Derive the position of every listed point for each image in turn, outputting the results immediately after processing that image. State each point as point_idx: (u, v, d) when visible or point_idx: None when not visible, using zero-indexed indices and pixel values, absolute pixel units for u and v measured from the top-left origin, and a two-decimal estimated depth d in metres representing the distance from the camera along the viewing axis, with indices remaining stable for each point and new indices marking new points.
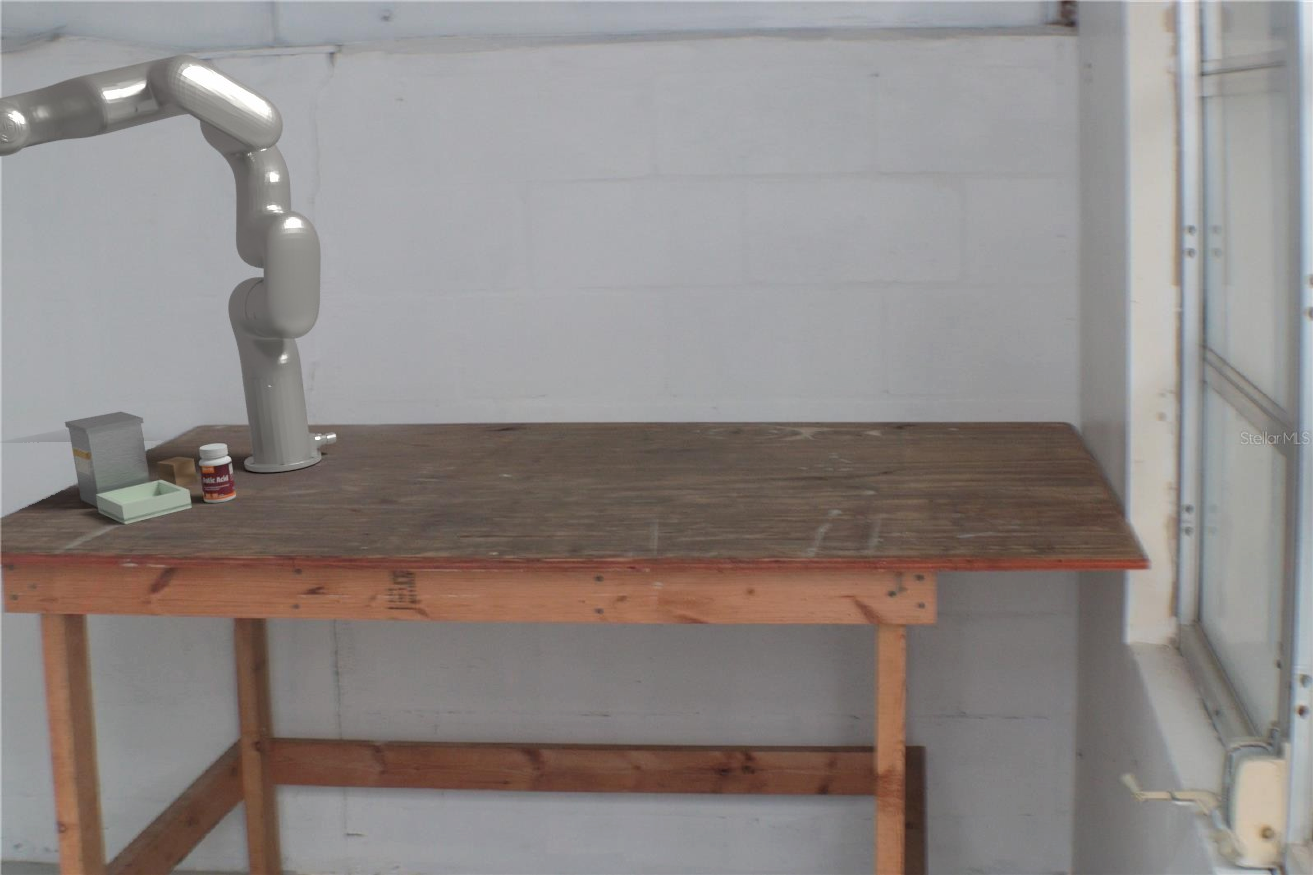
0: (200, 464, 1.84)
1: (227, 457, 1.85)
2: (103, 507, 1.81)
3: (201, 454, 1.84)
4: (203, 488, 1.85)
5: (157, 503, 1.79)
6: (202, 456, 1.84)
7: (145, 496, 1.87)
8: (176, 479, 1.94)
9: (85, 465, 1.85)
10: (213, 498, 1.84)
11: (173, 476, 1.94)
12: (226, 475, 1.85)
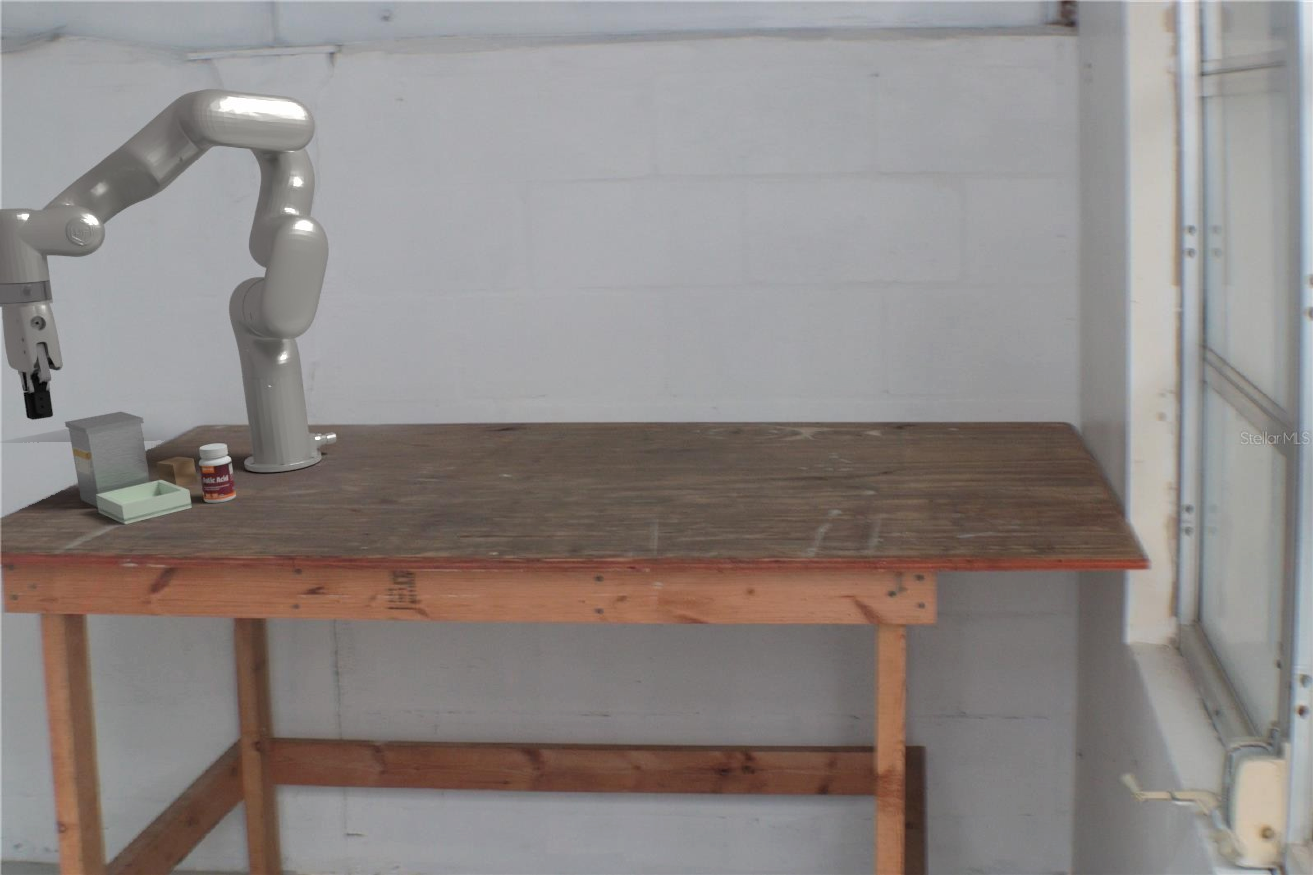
0: (200, 464, 1.84)
1: (227, 457, 1.85)
2: (103, 507, 1.81)
3: (201, 454, 1.84)
4: (203, 488, 1.85)
5: (157, 503, 1.79)
6: (202, 456, 1.84)
7: (145, 496, 1.87)
8: (176, 479, 1.94)
9: (85, 465, 1.85)
10: (213, 498, 1.84)
11: (173, 476, 1.94)
12: (226, 475, 1.85)
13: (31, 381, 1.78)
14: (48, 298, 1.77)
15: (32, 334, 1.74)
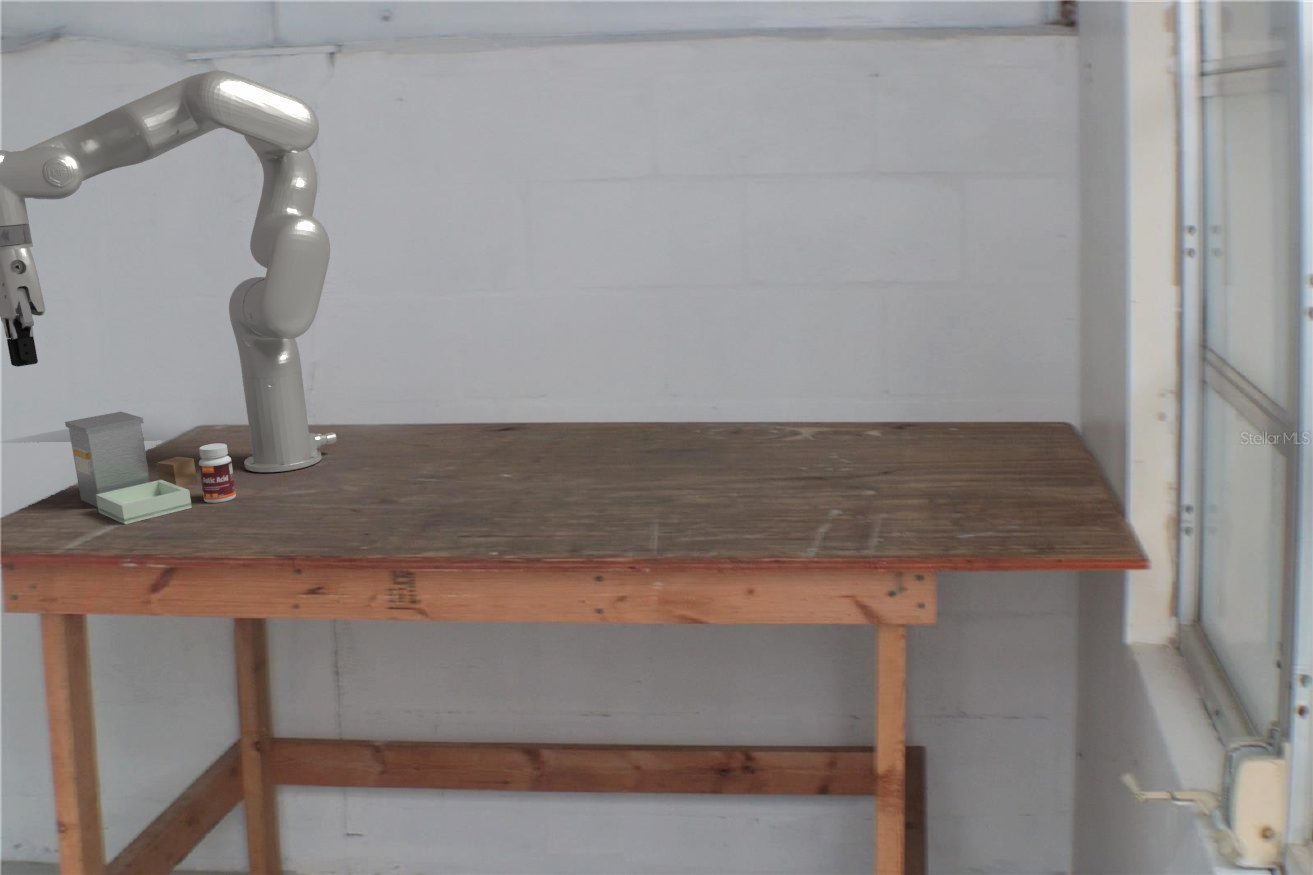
0: (200, 464, 1.84)
1: (227, 457, 1.85)
2: (103, 507, 1.81)
3: (201, 454, 1.84)
4: (203, 488, 1.85)
5: (157, 503, 1.79)
6: (202, 456, 1.84)
7: (145, 496, 1.87)
8: (176, 479, 1.94)
9: (85, 465, 1.85)
10: (213, 498, 1.84)
11: (173, 476, 1.94)
12: (226, 475, 1.85)
13: (14, 327, 1.75)
14: (28, 242, 1.74)
15: (12, 278, 1.71)
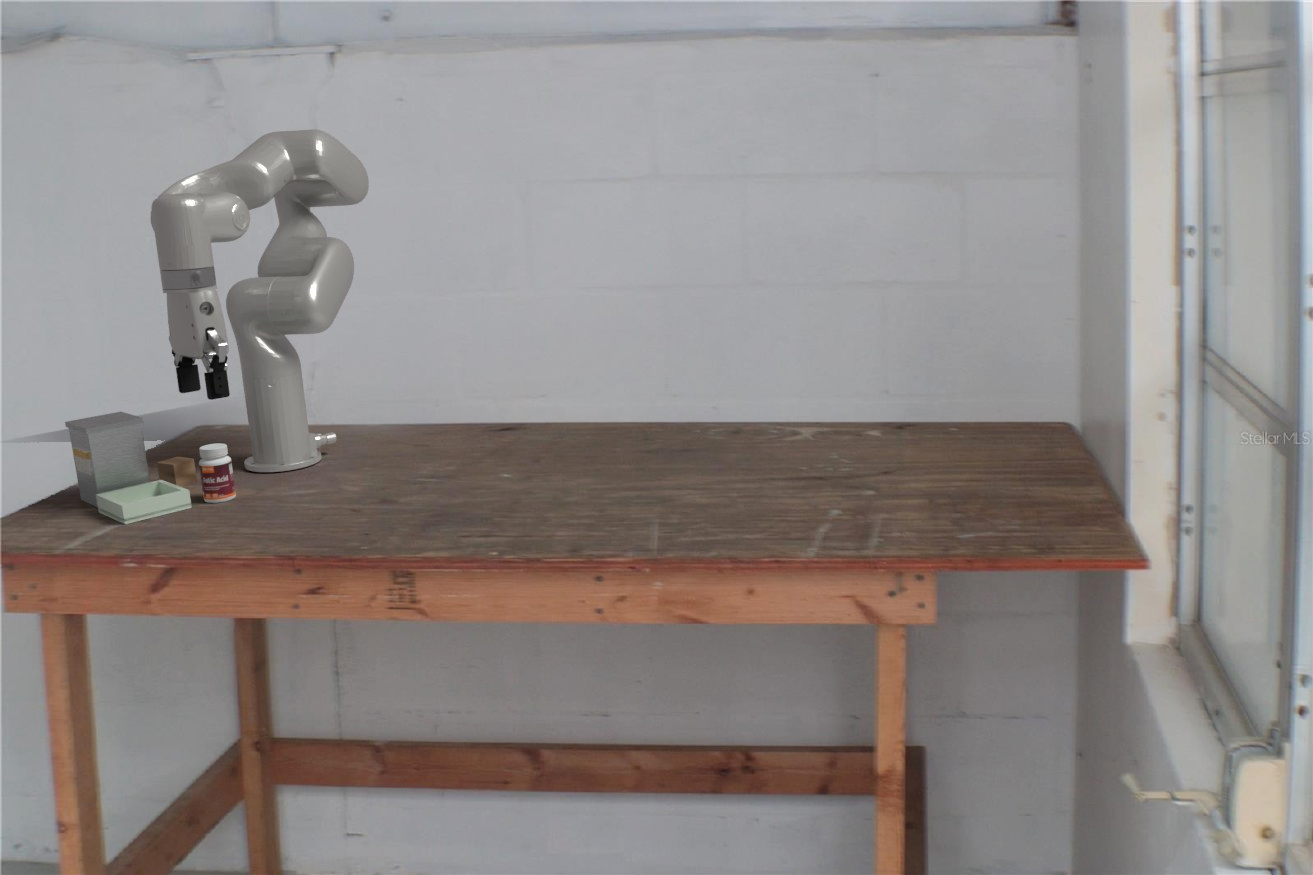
0: (200, 464, 1.84)
1: (227, 457, 1.85)
2: (103, 507, 1.81)
3: (201, 454, 1.84)
4: (203, 488, 1.85)
5: (157, 503, 1.79)
6: (202, 456, 1.84)
7: (145, 496, 1.87)
8: (176, 479, 1.94)
9: (85, 465, 1.85)
10: (213, 498, 1.84)
11: (173, 476, 1.94)
12: (226, 475, 1.85)
13: (207, 359, 1.77)
14: (214, 284, 1.79)
15: (201, 319, 1.76)
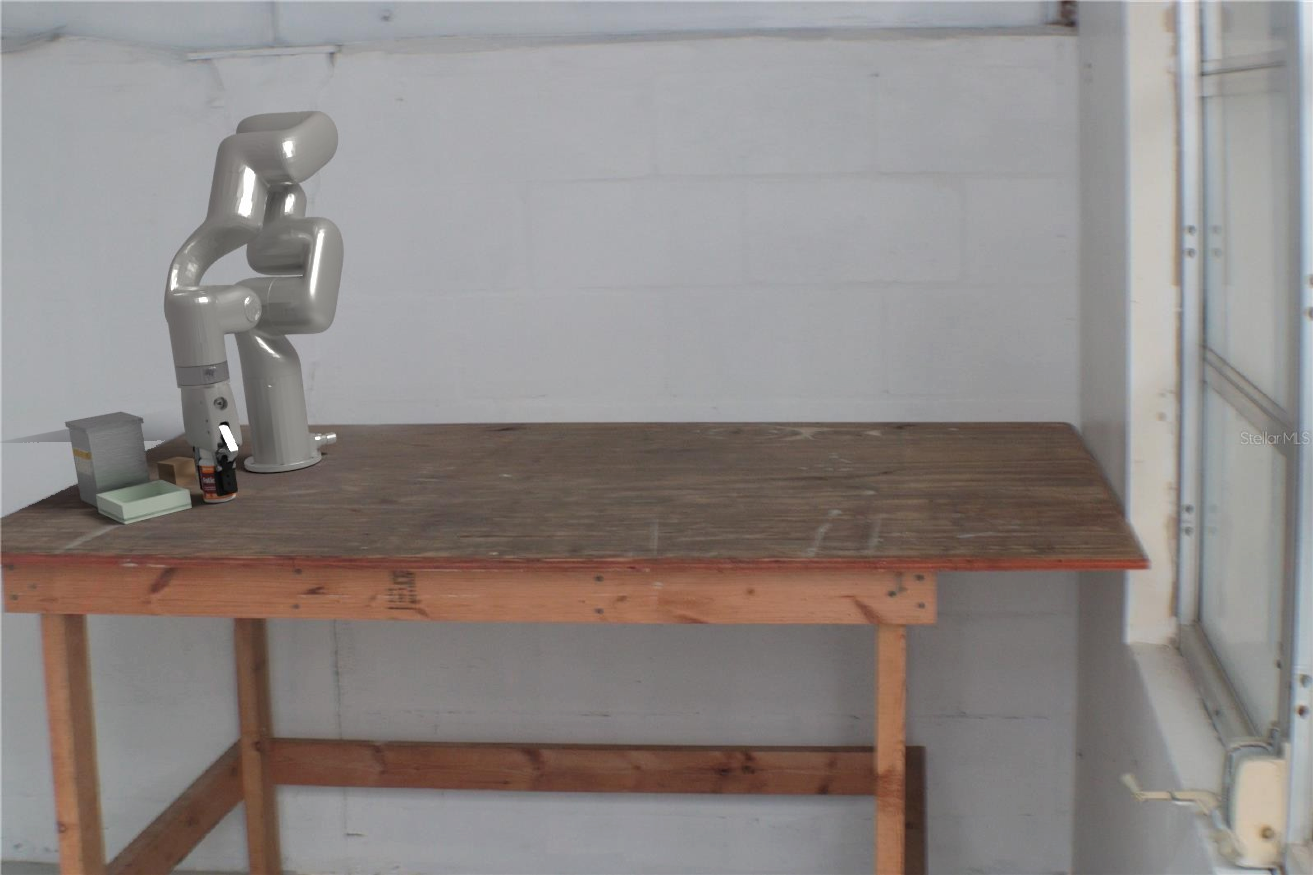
0: (200, 464, 1.84)
1: None
2: (103, 507, 1.81)
3: (201, 454, 1.84)
4: (203, 488, 1.85)
5: (157, 503, 1.79)
6: (202, 456, 1.84)
7: (145, 496, 1.87)
8: (176, 479, 1.94)
9: (85, 465, 1.85)
10: (213, 498, 1.84)
11: (173, 476, 1.94)
12: None
13: (217, 458, 1.82)
14: (227, 378, 1.82)
15: (215, 414, 1.79)
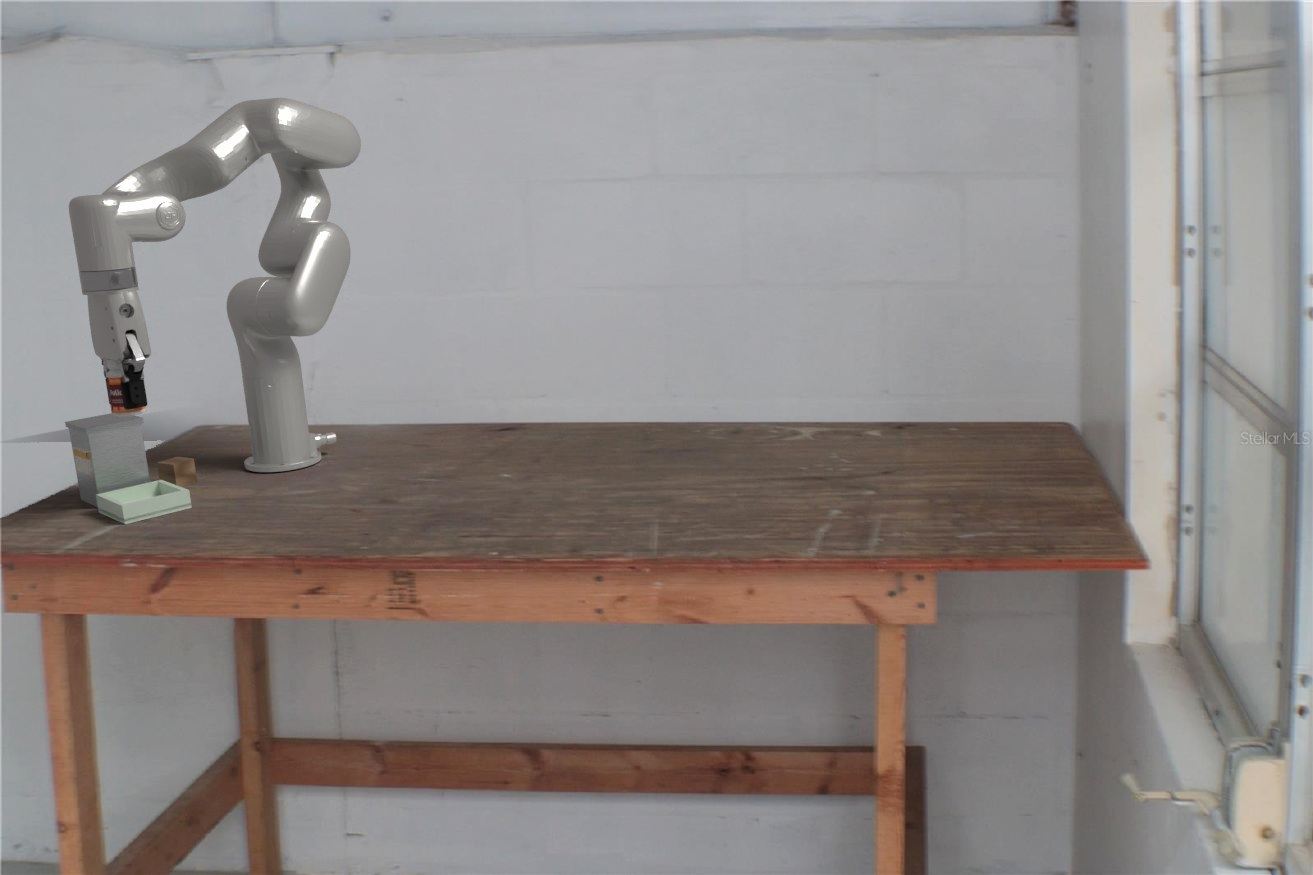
0: (107, 376, 1.76)
1: None
2: (103, 507, 1.81)
3: (108, 365, 1.76)
4: (110, 401, 1.77)
5: (157, 503, 1.79)
6: (109, 367, 1.76)
7: (145, 496, 1.87)
8: (176, 479, 1.94)
9: (85, 465, 1.85)
10: (120, 412, 1.77)
11: (173, 476, 1.94)
12: None
13: (124, 368, 1.74)
14: (135, 285, 1.75)
15: (121, 322, 1.72)
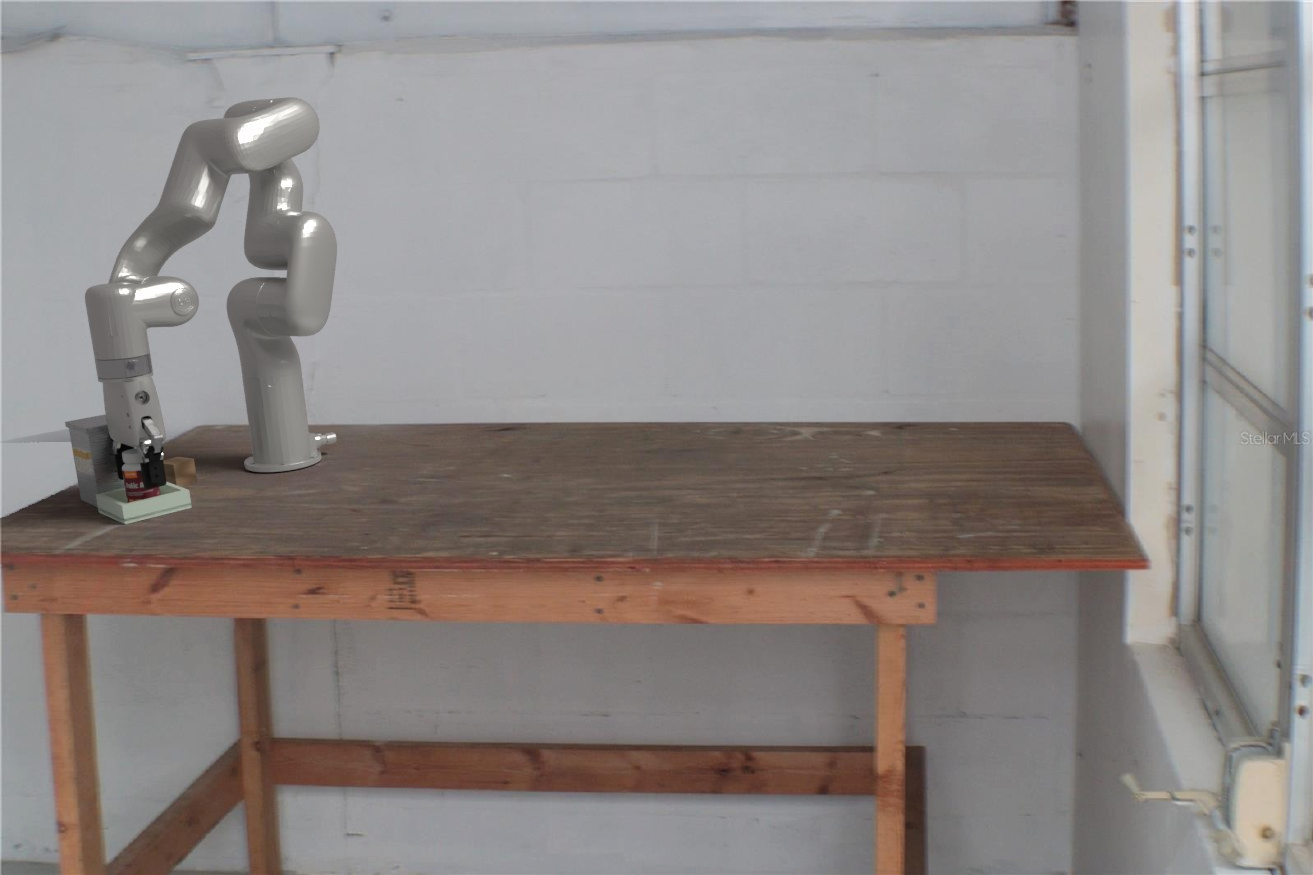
0: (123, 469, 1.80)
1: None
2: (103, 507, 1.81)
3: (124, 459, 1.80)
4: (126, 494, 1.81)
5: (157, 503, 1.79)
6: (125, 461, 1.80)
7: None
8: (176, 479, 1.94)
9: (85, 465, 1.85)
10: None
11: (173, 476, 1.94)
12: None
13: (142, 449, 1.76)
14: (150, 371, 1.78)
15: (137, 409, 1.75)
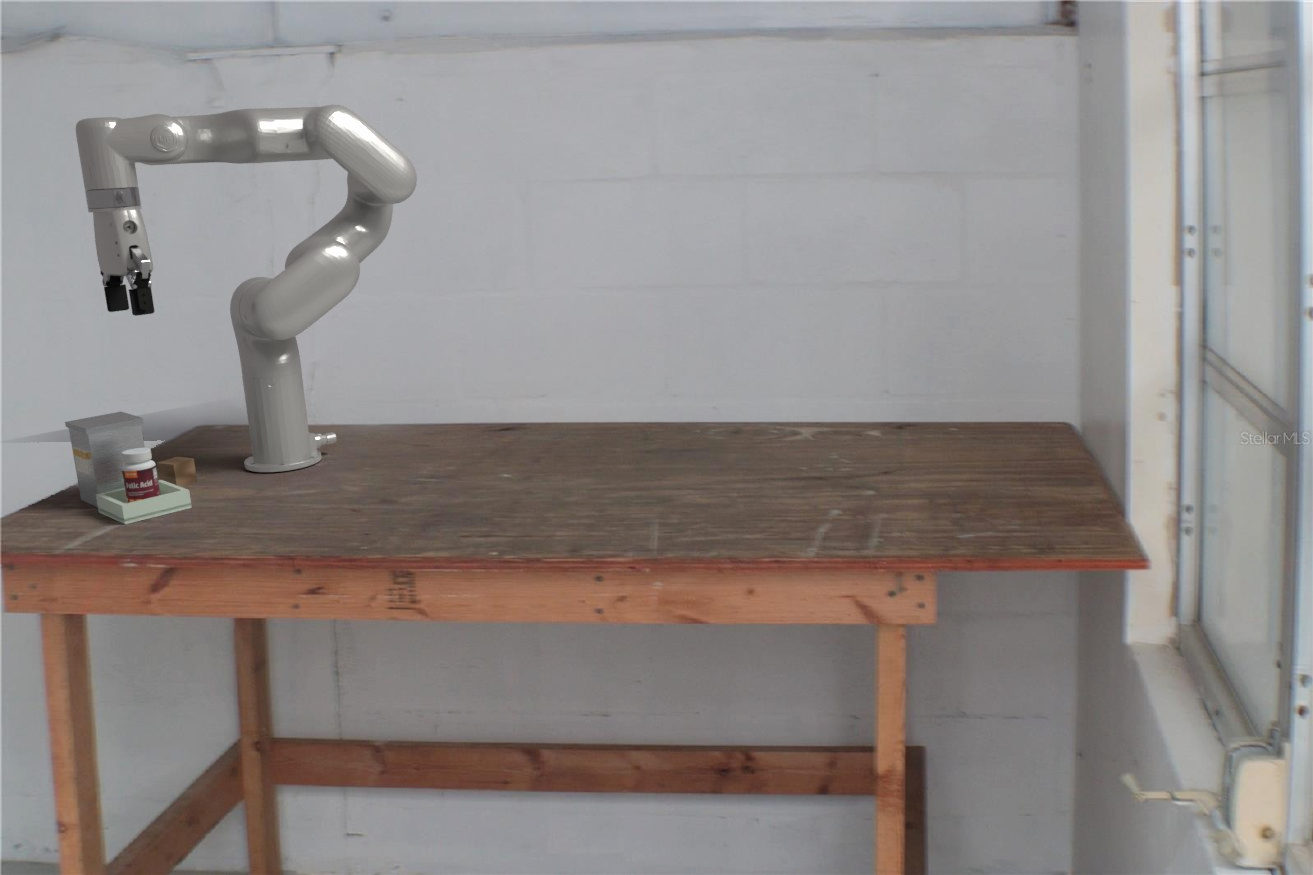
0: (123, 469, 1.80)
1: (151, 461, 1.81)
2: (103, 507, 1.81)
3: (124, 459, 1.80)
4: (126, 494, 1.81)
5: (157, 503, 1.79)
6: (125, 461, 1.80)
7: None
8: (176, 479, 1.94)
9: (85, 465, 1.85)
10: None
11: (173, 476, 1.94)
12: (150, 480, 1.81)
13: (131, 276, 1.84)
14: (138, 204, 1.85)
15: (125, 237, 1.83)
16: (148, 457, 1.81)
